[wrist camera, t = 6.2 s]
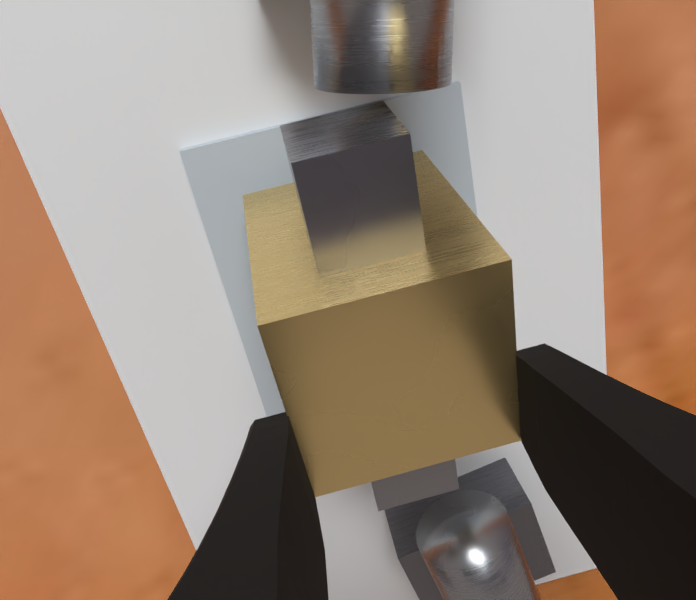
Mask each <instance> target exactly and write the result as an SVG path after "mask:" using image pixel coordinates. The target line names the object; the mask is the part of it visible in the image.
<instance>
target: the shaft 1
mask: <svg viewBox="0 0 696 600" xmlns="http://www.w3.org/2000/svg"><path fill="white" fill-rule="evenodd" d="M309 1H310V19H311V38H312V56H313V75H314V88H315V89H317V90H321V91H325V92H332V93H343V94H396V93H410V92H420V91H427V90H434V89H439V88H443V87H446V86H449V85H450V84H451V83H452V55H453V24H454V0H309Z"/></svg>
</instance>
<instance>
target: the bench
mask: <svg viewBox="0 0 696 600" xmlns="http://www.w3.org/2000/svg"><path fill="white" fill-rule="evenodd" d="M381 100H383V101H384V102H385V103H386V105H387V106H388V107H389V108H390V110H391V111H392V112H393V113H394V114H395V116H396V117H397V118H398V119H399V120H400V122H401V123H402V124H403V125H404V127H405V128H406V129H407V130H408V131H409V133H410V136H411V143H412V150H413V152H416V151H420V150H423V151H424V153H425V154H426V155H427V156H428V158H429V159H430V160H431V161H432V162H433V164H434V165H435V166H436V167H437V169H438V170H439V171H440V172H441V173H442V175H443V176H444V177H445V178H446V180H447V181H448V182H449V183H450V184H451V186H452V187H453V188H454V189H455V191H456V192H457V193H458V194H459V195H460V197H461V198H462V199H463V200H464V202H465V203H466V204H467V205H468V206H469V208H470V209H471V210H472V211H473V213H474V214H475V215H476V216H477V217H478V219H479V220H480V221H481V222H482V224H483V225H484V226H485V227H486V228H487V230H488V231H489V232H490V233H491V235H492V236H493V237H494V238H495V239H496V241H497V242H498V243H499V244H500V246H501V247H502V248H503V249H504V250H505V252H506V253H507V254H508V255H509V257H510V258H511V259H512V272H513V291H514V310H515V328H516V347H517V351H518V350H521V349H525V348H529V347H533V346H537V345H540V344H544V343H545V344H547V345H549V346H551V347H553V348H555V349H557V350H559V351H561V352H563V353H565V354H567V355H569V356H571V357H573V358H575V359H577V360H578V361H580V362H582V363H584V364H586V365H588V366H590V367H592V368H594V369H596V370H598V371H600V372H602V373H604V374H606V345H605V316H604V287H603V258H602V229H601V200H600V171H599V142H598V113H597V84H596V55H595V26H594V0H454V24H453V55H452V83H451V84H450V85H449V86H446V87H443V88H439V89H434V90H427V91H420V92H410V93H396V94H343V93H332V92H325V91H321V90H317V89H315V88H314V75H313V56H312V38H311V19H310V1H309V0H0V108H1V110H2V113H3V115H4V117H5V119H6V122H7V124H8V126H9V128H10V131H11V133H12V135H13V137H14V140H15V142H16V144H17V146H18V149H19V151H20V153H21V156H22V158H23V160H24V162H25V165H26V167H27V169H28V171H29V174H30V176H31V178H32V180H33V183H34V185H35V187H36V189H37V192H38V194H39V196H40V198H41V201H42V203H43V205H44V207H45V210H46V212H47V214H48V217H49V219H50V221H51V223H52V226H53V228H54V230H55V232H56V235H57V237H58V239H59V241H60V244H61V246H62V248H63V250H64V253H65V255H66V257H67V259H68V262H69V264H70V266H71V269H72V271H73V273H74V275H75V278H76V280H77V282H78V284H79V287H80V289H81V291H82V293H83V296H84V298H85V300H86V302H87V305H88V307H89V309H90V311H91V314H92V316H93V318H94V321H95V323H96V325H97V327H98V330H99V332H100V334H101V336H102V339H103V341H104V343H105V345H106V348H107V350H108V352H109V354H110V357H111V359H112V361H113V363H114V366H115V368H116V370H117V373H118V375H119V377H120V379H121V382H122V384H123V386H124V388H125V391H126V393H127V395H128V397H129V400H130V402H131V404H132V406H133V409H134V411H135V413H136V415H137V418H138V420H139V422H140V425H141V427H142V429H143V431H144V434H145V436H146V438H147V440H148V443H149V445H150V447H151V449H152V452H153V454H154V456H155V458H156V461H157V463H158V465H159V467H160V470H161V472H162V474H163V477H164V479H165V481H166V483H167V486H168V488H169V490H170V492H171V495H172V497H173V499H174V501H175V504H176V506H177V508H178V510H179V513H180V515H181V517H182V519H183V522H184V524H185V526H186V529H187V531H188V533H189V535H190V538H191V540H192V542H193V544H194V547H195V549H196V551H197V549H198V547H199V545H200V543H201V541H202V539H203V537H204V535H205V533H206V531H207V530H208V528H209V526H210V524H211V522H212V520H213V518H214V516H215V514H216V512H217V510H218V507H219V505H220V503H221V501H222V498H223V496H224V494H225V492H226V489H227V487H228V485H229V482H230V480H231V478H232V476H233V473H234V471H235V468H236V465H237V463H238V460H239V458H240V455H241V452H242V450H243V447H244V444H245V441H246V438H247V435H248V432H249V429H250V426H251V425H252V423H253V422H254V420H256V419H260V418H264V417H268V416H272V415H275V414H279V413H283V412H286V411H285V408H284V405H283V402H282V399H281V396H280V393H279V390H278V387H277V384H276V381H275V378H274V375H273V372H272V369H271V366H270V363H269V360H268V357H267V354H266V351H265V348H264V345H263V342H262V339H261V336H260V333H259V330H258V327H257V320H256V311H255V302H254V293H253V284H252V275H251V266H250V258H249V249H248V240H247V231H246V222H245V213H244V204H243V195H245V194H249V193H253V192H257V191H261V190H265V189H269V188H273V187H277V186H281V185H285V184H289V183H293V182H294V181H293V177H292V173H291V169H290V165H289V161H288V157H287V153H286V149H285V145H284V141H283V137H282V133H281V129H280V125H284V124H288V123H292V122H296V121H300V120H304V119H308V118H312V117H317V116H321V115H325V114H329V113H333V112H337V111H341V110H345V109H349V108H353V107H357V106H361V105H365V104H369V103H373V102H377V101H381ZM606 375H607V374H606ZM502 458H506V460H507V461H508V463H509V465H510V467H511V468H512V470H513V472H514V474H515V476H516V477H517V479H518V481H519V483H520V484H521V486H522V488H523V490H524V491H525V493H526V495H527V497H528V499H529V500H530V502H531V504H532V507H533V509H534V512H535V515H536V518H537V521H538V523H539V526H540V529H541V532H542V534H543V537H544V540H545V543H546V545H547V548H548V551H549V554H550V556H551V559H552V562H553V565H554V567H555V570H556V572H555V573H552V574H550V575H547V576H545V577H543V578H540V579H538V580H535V581H534V582H535V584H536V585H537V584H541V583H545V582H548V581H552V580H555V579H559V578H562V577H566V576H570V575H573V574H577V573H580V572H584V571H588V570H591V569H595V568H597V567H596V565H595V564H594V562H593V561H592V559H591V558H590V556H589V555H588V553H587V552H586V550H585V549H584V548H583V546H582V545H581V543H580V542H579V540H578V539H577V537H576V536H575V534H574V533H573V531H572V530H571V528H570V527H569V525H568V524H567V522H566V521H565V519H564V518H563V516H562V515H561V513H560V511H559V510H558V508H557V507H556V505H555V504H554V502H553V501H552V499H551V498H550V496H549V495H548V493H547V492H546V490H545V488H544V486H543V484H542V482H541V480H540V478H539V476H538V475H537V473H536V471H535V469H534V467H533V465H532V462H531V460H530V458H529V456H528V454H527V452H526V450H525V448H524V446H523V444H522V441H518V442H514V443H511V444H507V445H504V446H500V447H496V448H493V449H489V450H485V451H482V452H478V453H474V454H471V455H467V456H464V457H460V458H456V459H455V462H456V469H457V476H458V477H459V476H461V475H464V474H466V473H469V472H471V471H473V470H476V469H478V468H481V467H483V466H485V465H488V464H490V463H493V462H495V461H497V460H500V459H502ZM315 499H316V504H317V509H318V515H319V520H320V525H321V531H322V536H323V542H324V548H325V558H326V571H327V585H328V599H329V600H419V598H418V596H417V594H416V592H415V590H414V588H413V587H412V585H411V583H410V581H409V579H408V577H407V575H406V573H405V571H404V569H403V568H402V566H401V564H400V562H399V560H398V557H397V554H396V550H395V546H394V543H393V539H392V536H391V532H390V528H389V525H388V521H387V517H386V514H385V510H382V511H378V508H377V505H376V501H375V497H374V494H373V490H372V486H371V483H370V482H369V483H366V484H362V485H358V486H355V487H351V488H348V489H344V490H340V491H337V492H333V493H329V494H326V495H322V496H318V497H315Z"/></svg>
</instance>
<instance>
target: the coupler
mask: <svg viewBox="0 0 696 600" xmlns="http://www.w3.org/2000/svg"><path fill="white" fill-rule="evenodd" d="M280 129H281V133H282V137H283V141H284V145H285V149H286V153H287V157H288V161H289V165H290V169H291V173H292V177H293V181H294V182H293V183H289V184H285V185H281V186H277V187H273V188H269V189H265V190H261V191H257V192H253V193H249V194H245V195H243V204H244V213H245V222H246V231H247V240H248V249H249V258H250V266H251V275H252V284H253V293H254V302H255V311H256V320H257V327H258V330H259V333H260V336H261V339H262V342H263V345H264V348H265V351H266V354H267V357H268V360H269V363H270V366H271V369H272V372H273V375H274V378H275V381H276V384H277V387H278V390H279V393H280V396H281V399H282V402H283V405H284V408H285V411H286V414H287V416H289V419H290V422H291V425H292V428H293V431H294V434H295V437H296V440H297V444H298V447H299V450H300V453H301V456H302V459H303V462H304V465H305V468H306V471H307V474H308V477H309V480H310V483H311V486H312V489H313V492H314V495H315V497H318V496H322V495H326V494H329V493H333V492H337V491H340V490H344V489H348V488H351V487H355V486H358V485H362V484H366V483H369V482H370V483H371V486H372V490H373V494H374V497H375V501H376V505H377V508H378V511H382V510H385V509H389V508H392V507H396V506H400V505H403V504H407V503H410V502H414V501H418V500H421V499H425V498H428V497H432V496H436V495H439V494H443V493H446V492H450V491H453V490H457V489H459V484H458V476H457V469H456V462H455V459H456V458H460V457H464V456H467V455H471V454H474V453H478V452H482V451H485V450H489V449H493V448H496V447H500V446H504V445H507V444H511V443H514V442H518V441H521V432H520V421H519V403H518V385H517V367H516V355H517V347H516V328H515V310H514V291H513V272H512V259H511V258H510V257H509V255H508V254H507V253H506V252H505V250H504V249H503V248H502V247H501V246H500V244H499V243H498V242H497V241H496V239H495V238H494V237H493V236H492V235H491V233H490V232H489V231H488V230H487V228H486V227H485V226H484V225H483V224H482V222H481V221H480V220H479V219H478V217H477V216H476V215H475V214H474V213H473V211H472V210H471V209H470V208H469V206H468V205H467V204H466V203H465V202H464V200H463V199H462V198H461V197H460V195H459V194H458V193H457V192H456V191H455V189H454V188H453V187H452V186H451V184H450V183H449V182H448V181H447V180H446V178H445V177H444V176H443V175H442V173H441V172H440V171H439V170H438V169H437V167H436V166H435V165H434V164H433V162H432V161H431V160H430V159H429V158H428V156H427V155H426V154H425V153H424V151H423V150H420V151H416V152H413V150H412V143H411V136H410V133H409V131H408V130H407V129H406V128H405V127H404V125H403V124H402V123H401V122H400V120H399V119H398V118H397V117H396V116H395V114H394V113H393V112H392V111H391V110H390V108H389V107H388V106H387V105H386V103H385V102H384V101H383V100H381V101H377V102H373V103H369V104H365V105H361V106H357V107H353V108H349V109H345V110H341V111H337V112H333V113H329V114H325V115H321V116H317V117H312V118H308V119H304V120H300V121H296V122H292V123H288V124H284V125H280Z"/></svg>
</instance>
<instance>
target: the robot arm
mask: <svg viewBox="0 0 696 600" xmlns="http://www.w3.org/2000/svg"><path fill="white" fill-rule="evenodd" d="M516 367H517V385H518V403H519V421H520V432H521V441H522V444H523V446H524V448H525V450H526V452H527V454H528V456H529V458H530V460H531V462H532V465H533V467H534V469H535V471H536V473H537V475H538V476H539V478H540V480H541V482H542V484H543V486H544V488H545V490H546V492H547V493H548V495H549V496H550V498H551V499H552V501H553V502H554V504H555V505H556V507H557V508H558V510H559V511H560V513H561V515H562V516H563V518H564V519H565V521H566V522H567V524H568V525H569V527H570V528H571V530H572V531H573V533H574V534H575V536H576V537H577V539H578V540H579V542H580V543H581V545H582V546H583V548H584V549H585V550H586V552H587V553H588V555H589V556H590V558H591V559H592V561H593V562H594V564H595V565H596V567H597V568H598V570H599V571H600V573H601V574H602V576H603V577H604V579H605V580H606V582H607V583H608V585H609V586H610V588H611V589H612V591H613V592H614V594H615V595H616V597H617V599H618V600H696V416H695V415H693V414H691V413H688V412H686V411H683V410H681V409H679V408H676V407H674V406H671V405H669V404H667V403H664V402H662V401H660V400H658V399H656V398H653V397H651V396H649V395H647V394H645V393H642V392H640V391H638V390H636V389H634V388H632V387H630V386H628V385H626V384H624V383H622V382H620V381H618V380H616V379H614V378H612V377H610V376H608V375H606V374H604V373H602V372H600V371H598V370H596V369H594V368H592V367H590V366H588V365H586V364H584V363H582V362H580V361H578V360H577V359H575V358H573V357H571V356H569V355H567V354H565V353H563V352H561V351H559V350H557V349H555V348H553V347H551V346H549V345H547V344H545V343H544V344H540V345H537V346H533V347H529V348H525V349H521V350H518V351H517V355H516ZM168 600H329V599H328V585H327V571H326V558H325V548H324V542H323V536H322V531H321V525H320V520H319V515H318V509H317V504H316V499H315V495H314V492H313V489H312V486H311V483H310V480H309V477H308V474H307V471H306V468H305V465H304V462H303V459H302V456H301V453H300V450H299V447H298V444H297V440H296V437H295V434H294V431H293V428H292V425H291V422H290V419H289V416H287V414H286V412H283V413H279V414H275V415H272V416H268V417H264V418H260V419H256V420H254V422H253V423H252V425H251V426H250V429H249V432H248V435H247V438H246V441H245V444H244V447H243V450H242V452H241V455H240V458H239V460H238V463H237V465H236V468H235V471H234V473H233V476H232V478H231V480H230V482H229V485H228V487H227V489H226V492H225V494H224V496H223V498H222V501H221V503H220V505H219V507H218V510H217V512H216V514H215V516H214V518H213V520H212V522H211V524H210V526H209V528H208V530H207V531H206V533H205V535H204V537H203V539H202V541H201V543H200V545H199V547H198V549H197V551H196V553H195V555H194V556H193V558H192V560H191V562H190V563H189V565H188V567H187V569H186V570H185V572H184V574H183V575H182V577H181V579H180V580H179V582H178V584H177V585H176V587H175V588H174V590H173V592H172V593H171V595H170V596H169V598H168Z"/></svg>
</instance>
